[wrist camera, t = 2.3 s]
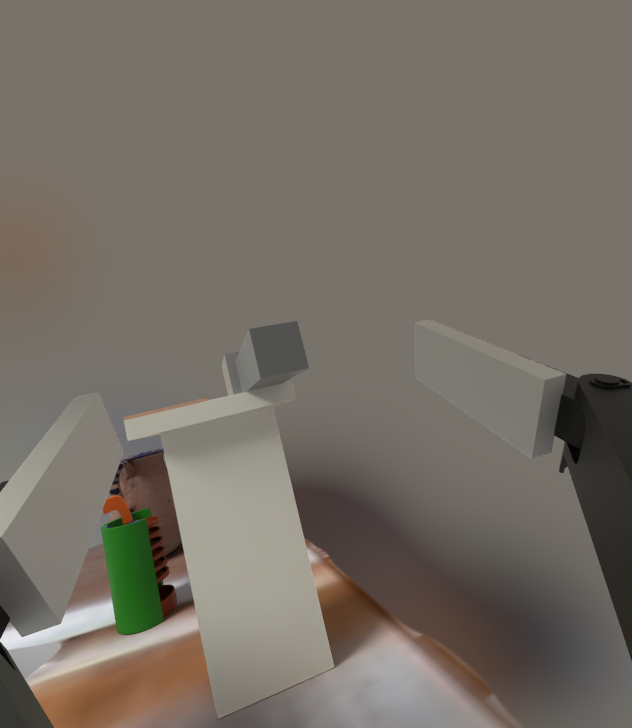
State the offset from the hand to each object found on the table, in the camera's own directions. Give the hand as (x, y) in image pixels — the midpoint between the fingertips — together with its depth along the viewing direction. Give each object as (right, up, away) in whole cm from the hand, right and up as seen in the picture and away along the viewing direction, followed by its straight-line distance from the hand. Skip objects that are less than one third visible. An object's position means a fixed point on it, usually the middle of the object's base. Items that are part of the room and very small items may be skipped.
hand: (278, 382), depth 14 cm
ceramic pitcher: (-37, -46, +67) cm, 90 cm away
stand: (-3, -33, +24) cm, 40 cm away
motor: (-26, -41, +42) cm, 64 cm away
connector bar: (-4, -2, +23) cm, 23 cm away
